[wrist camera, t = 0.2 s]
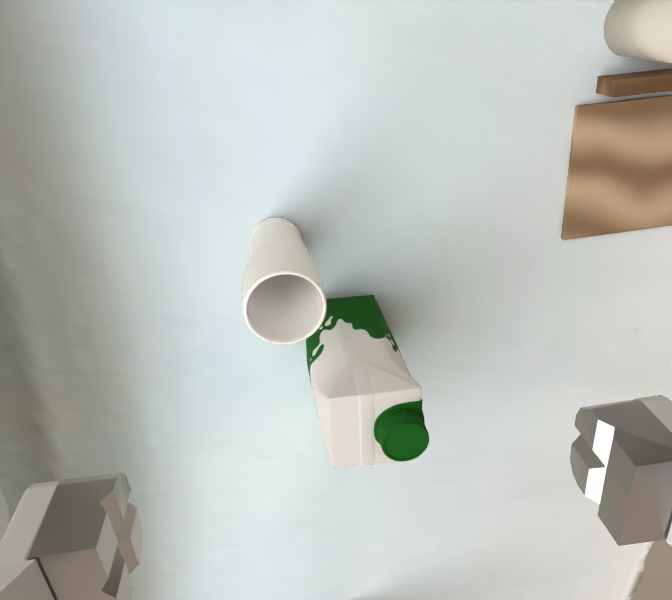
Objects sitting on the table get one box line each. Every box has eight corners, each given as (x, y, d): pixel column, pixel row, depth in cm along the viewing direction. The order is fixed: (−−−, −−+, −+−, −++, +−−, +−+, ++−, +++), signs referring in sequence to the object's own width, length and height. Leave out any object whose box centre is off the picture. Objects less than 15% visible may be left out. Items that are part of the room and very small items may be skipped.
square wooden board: (575, 105, 57) (578, 106, 56) (707, 90, 58) (711, 91, 58) (561, 238, 63) (563, 240, 63) (679, 221, 65) (683, 223, 64)
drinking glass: (249, 201, 56) (252, 262, 43) (315, 216, 58) (338, 279, 45) (235, 264, 59) (234, 339, 46) (299, 276, 61) (315, 352, 48)
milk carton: (381, 354, 67) (431, 479, 49) (303, 362, 66) (326, 493, 48) (381, 286, 63) (436, 396, 45) (298, 294, 62) (321, 409, 44)
